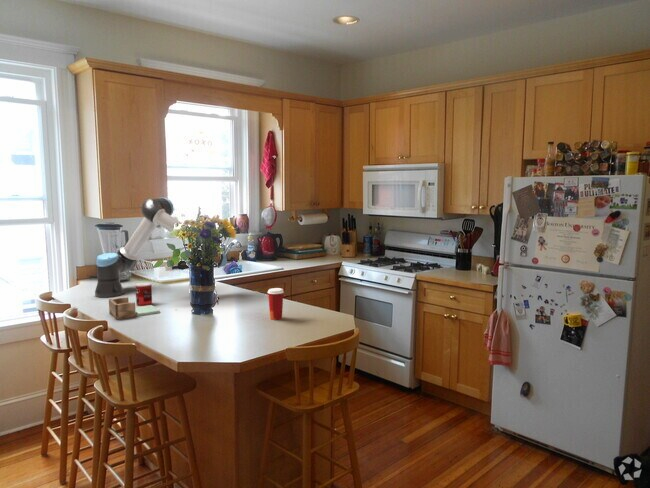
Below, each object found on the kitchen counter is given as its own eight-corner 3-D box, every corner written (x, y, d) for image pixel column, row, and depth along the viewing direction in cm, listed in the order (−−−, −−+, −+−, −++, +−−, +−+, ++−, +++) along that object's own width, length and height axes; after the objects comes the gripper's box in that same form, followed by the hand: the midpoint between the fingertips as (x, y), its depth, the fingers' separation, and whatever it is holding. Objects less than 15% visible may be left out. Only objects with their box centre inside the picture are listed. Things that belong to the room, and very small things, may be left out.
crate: (151, 307, 257) (150, 293, 256) (159, 312, 246) (159, 299, 245) (109, 313, 246) (108, 299, 245) (116, 319, 234) (115, 305, 233)
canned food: (138, 302, 267) (137, 282, 265) (153, 302, 267) (153, 282, 266) (134, 306, 259) (133, 285, 258) (150, 305, 260) (149, 285, 258)
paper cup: (286, 317, 238) (286, 288, 236) (280, 321, 231) (279, 291, 229) (271, 315, 241) (271, 287, 239) (264, 319, 233) (264, 290, 232)
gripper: (208, 272, 269) (169, 276, 257) (191, 266, 289) (154, 270, 277) (207, 258, 268) (168, 262, 256) (191, 253, 288) (154, 256, 276)
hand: (161, 266), depth 266 cm, fingers open, 13 cm apart
